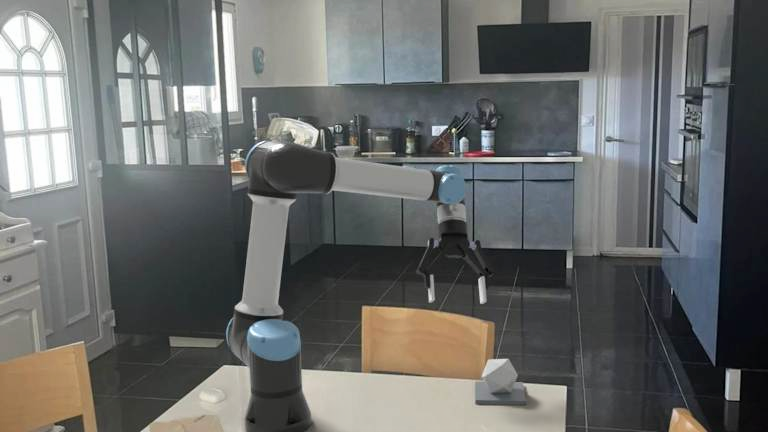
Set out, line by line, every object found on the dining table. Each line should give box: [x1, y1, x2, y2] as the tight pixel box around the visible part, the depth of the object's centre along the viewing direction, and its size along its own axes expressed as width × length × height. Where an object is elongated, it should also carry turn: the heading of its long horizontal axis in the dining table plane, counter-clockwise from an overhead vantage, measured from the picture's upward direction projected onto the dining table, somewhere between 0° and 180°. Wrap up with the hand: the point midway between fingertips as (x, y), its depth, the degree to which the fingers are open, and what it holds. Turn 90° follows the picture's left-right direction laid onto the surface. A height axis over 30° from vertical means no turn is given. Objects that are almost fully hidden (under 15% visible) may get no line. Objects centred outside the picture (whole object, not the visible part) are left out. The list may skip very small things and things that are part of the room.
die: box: [480, 358, 519, 393], centre depth 192 cm, size 8×9×10 cm
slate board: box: [474, 380, 527, 406], centre depth 193 cm, size 12×12×1 cm
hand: (457, 302), depth 197 cm, fingers open, 13 cm apart
